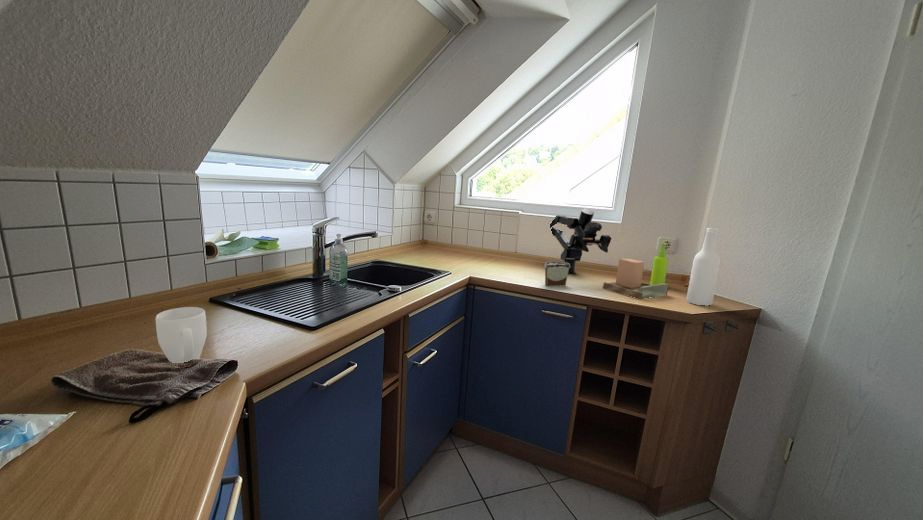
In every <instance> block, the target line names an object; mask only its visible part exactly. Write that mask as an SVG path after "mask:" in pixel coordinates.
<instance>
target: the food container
mask: <svg viewBox="0 0 923 520" xmlns="http://www.w3.org/2000/svg"><path fill="white" fill-rule="evenodd" d="M543 268H544V269H545V271H544V272H545V274H544V276H545V277H544V285H545V287H565V285H567V280H568V275H569V273H568V271H569V268H570V263H566V262H564V261H559V260H547V261H545V263H544V265H543Z"/></svg>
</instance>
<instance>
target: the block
mask: <svg viewBox="0 0 923 520" xmlns="http://www.w3.org/2000/svg"><path fill="white" fill-rule="evenodd" d="M644 265H645V261H641V260H638V259H632V258H628V257H627V258H619V259H618V265H617V272H616V277H615V279H616V280H615V282H616V284H620V285H623V286H627V287H630V288H635V287H640V286H641V282H642V280H643V273H644V272H643V271H644Z"/></svg>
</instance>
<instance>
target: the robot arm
mask: <svg viewBox="0 0 923 520" xmlns="http://www.w3.org/2000/svg"><path fill="white" fill-rule="evenodd" d="M594 214H595V212H594V211H593V210H591V209H588V208H587V207H586V208H585V207H583V208H582V209H581V211H580V214H579V217H572V216H571V217H570V216H566V215H561V214H560V215H556V216H554V218H555V219H554V218H553V219H554V220H553V219H552V220H553V221H552V223H551V224H550V228H551V227H552V226H554V225H555V224H557V223H558V224H564V225H565V226H566V227H567V228H568V229H569V230H574V232H573V234H572V235H571V236H570V239H569V237H568V236H567V234H566V233H565V231H564V230H563V231H560V230H558V229H556V228H554V227H552V229H551V231H552V234H553V235H552V236H554V237H555V238H556V240H557V241H558V243H559V244H560V246H562V248H563V251H562V252H561V253H560V260H562V261H563V262H566V263H570V268H569V271H568V274H575V275H576V273H577V272H576V262H580V261H581V259H582V256H583V252H586V253H589V252H590V250H589V248H588V246H594V245H595V246H596V245H597V247H598V248H599V250H601V251H602V252H604V253H607V254H608V252H609V246H610V244H611V241H612V237H611V236H610V235H608V234H607V235H604V234H603V235H601V236H600V238H599V239H596V237H597V235H598V233H597V232H601V230H602V229H603V226H602V224H601V223H599V222H597V221H596V222H595V221H593V217H594Z"/></svg>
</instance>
